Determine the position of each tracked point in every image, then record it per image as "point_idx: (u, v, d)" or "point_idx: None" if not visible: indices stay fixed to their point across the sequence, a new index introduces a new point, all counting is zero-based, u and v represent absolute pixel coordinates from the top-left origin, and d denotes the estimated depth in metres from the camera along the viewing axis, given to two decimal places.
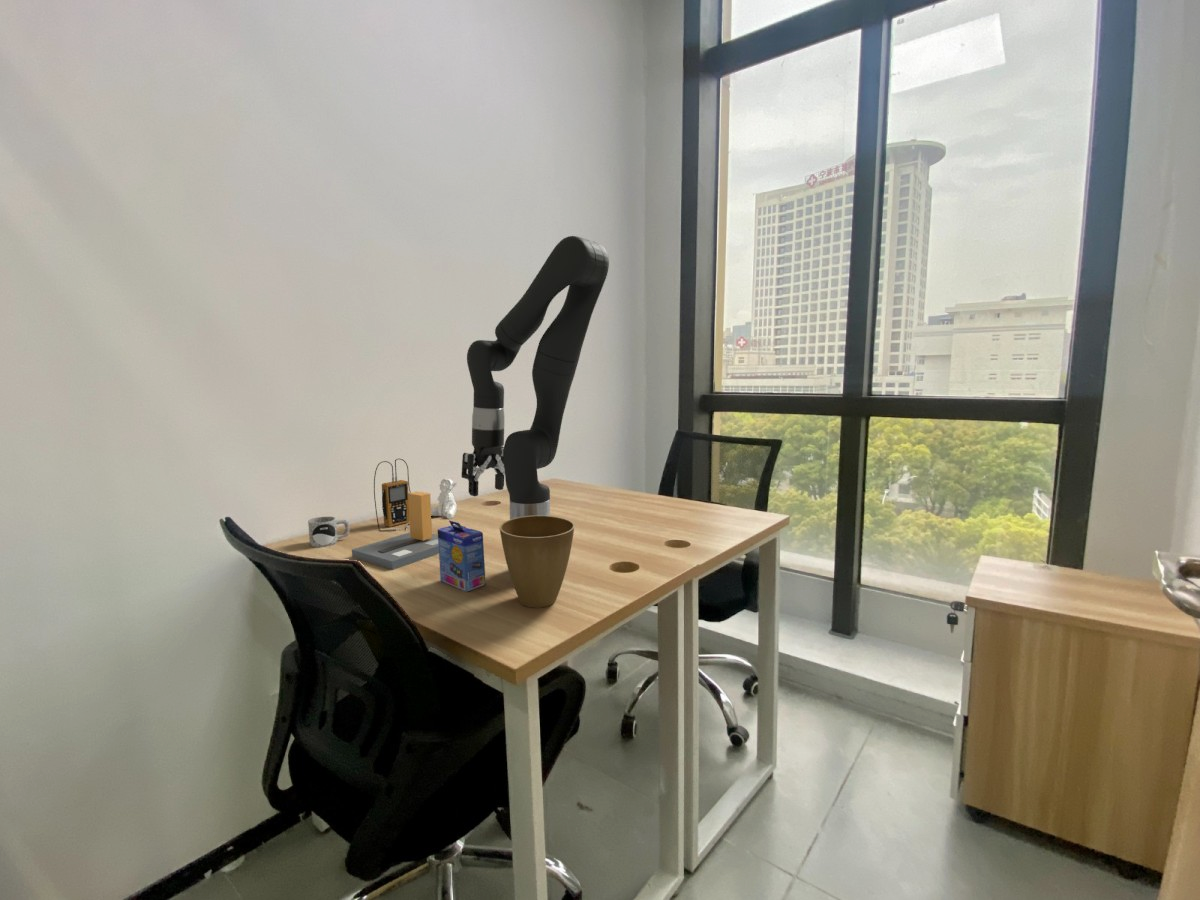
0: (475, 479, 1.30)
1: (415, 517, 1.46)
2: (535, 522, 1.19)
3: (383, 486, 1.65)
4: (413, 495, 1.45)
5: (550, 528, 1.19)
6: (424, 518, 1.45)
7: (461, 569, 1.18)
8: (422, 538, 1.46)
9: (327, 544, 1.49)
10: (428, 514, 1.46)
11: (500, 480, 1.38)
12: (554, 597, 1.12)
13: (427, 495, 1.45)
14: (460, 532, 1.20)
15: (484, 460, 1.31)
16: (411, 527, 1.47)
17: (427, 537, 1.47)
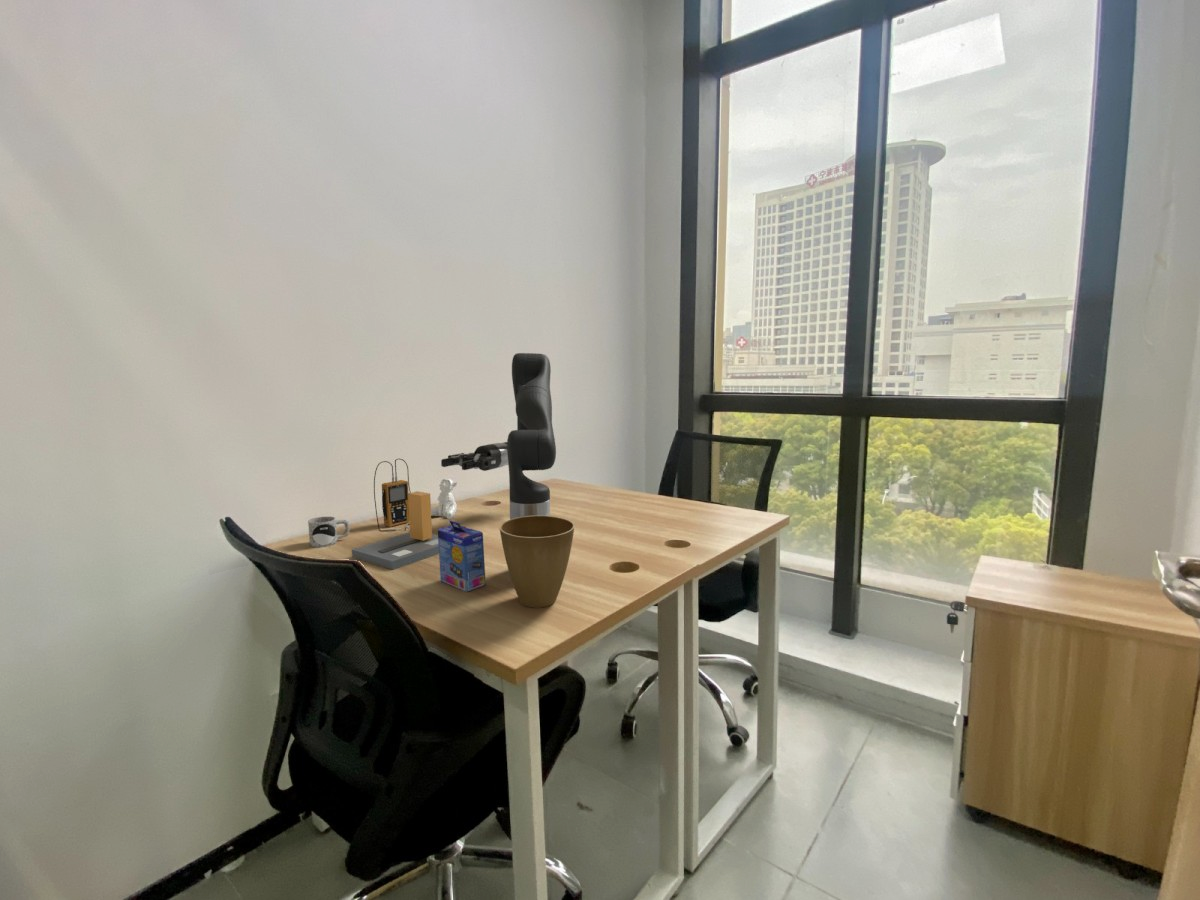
0: (451, 456, 1.61)
1: (415, 517, 1.46)
2: (535, 522, 1.19)
3: (383, 486, 1.65)
4: (413, 495, 1.45)
5: (550, 528, 1.19)
6: (424, 518, 1.45)
7: (461, 569, 1.18)
8: (422, 538, 1.46)
9: (327, 544, 1.49)
10: (428, 514, 1.46)
11: None
12: (554, 597, 1.12)
13: (427, 495, 1.45)
14: (460, 532, 1.20)
15: None
16: (411, 527, 1.47)
17: (427, 537, 1.47)
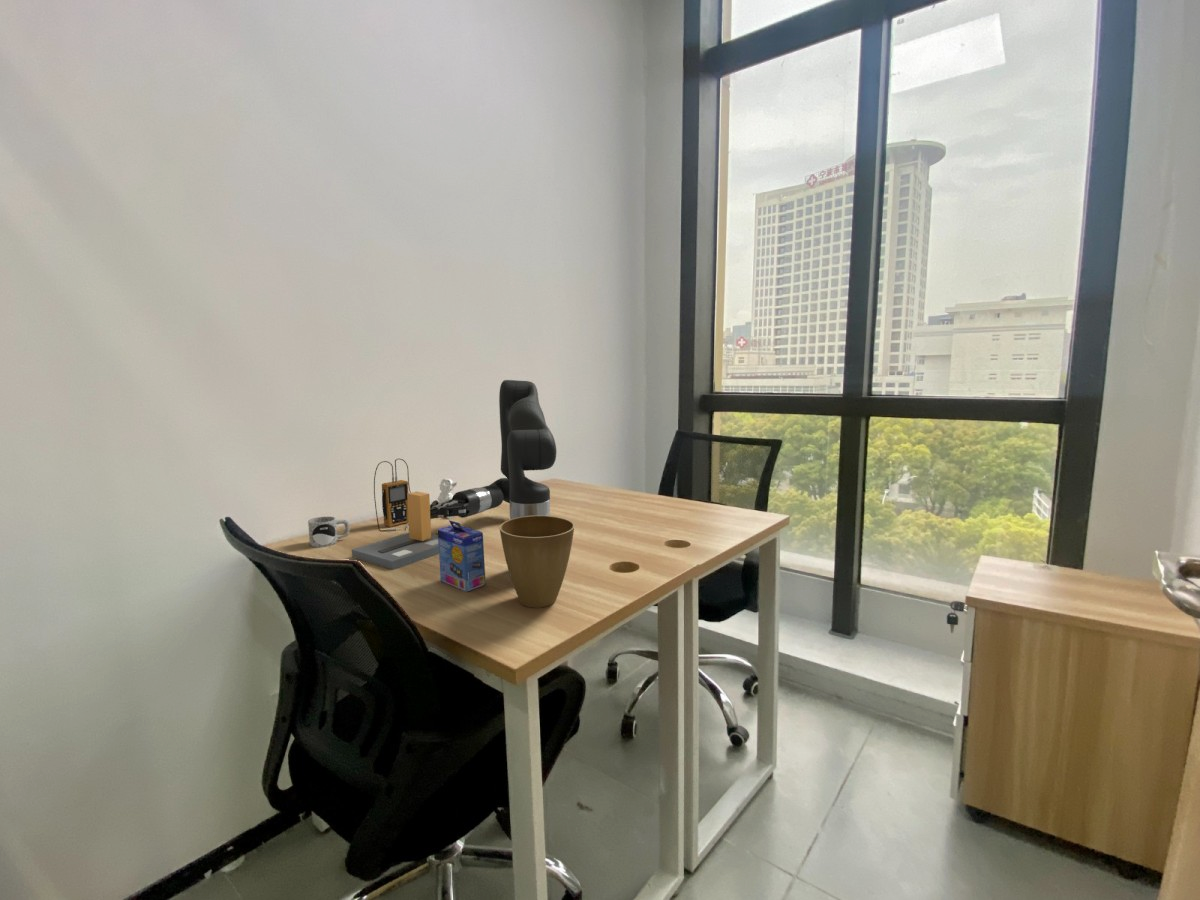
0: (433, 506, 1.52)
1: (414, 517, 1.46)
2: (535, 522, 1.19)
3: (383, 486, 1.65)
4: (412, 495, 1.45)
5: (550, 528, 1.19)
6: (423, 518, 1.45)
7: (461, 569, 1.18)
8: (421, 538, 1.45)
9: (327, 544, 1.49)
10: (427, 514, 1.46)
11: None
12: (554, 597, 1.12)
13: (426, 495, 1.45)
14: (460, 532, 1.20)
15: None
16: (410, 527, 1.47)
17: (426, 537, 1.46)
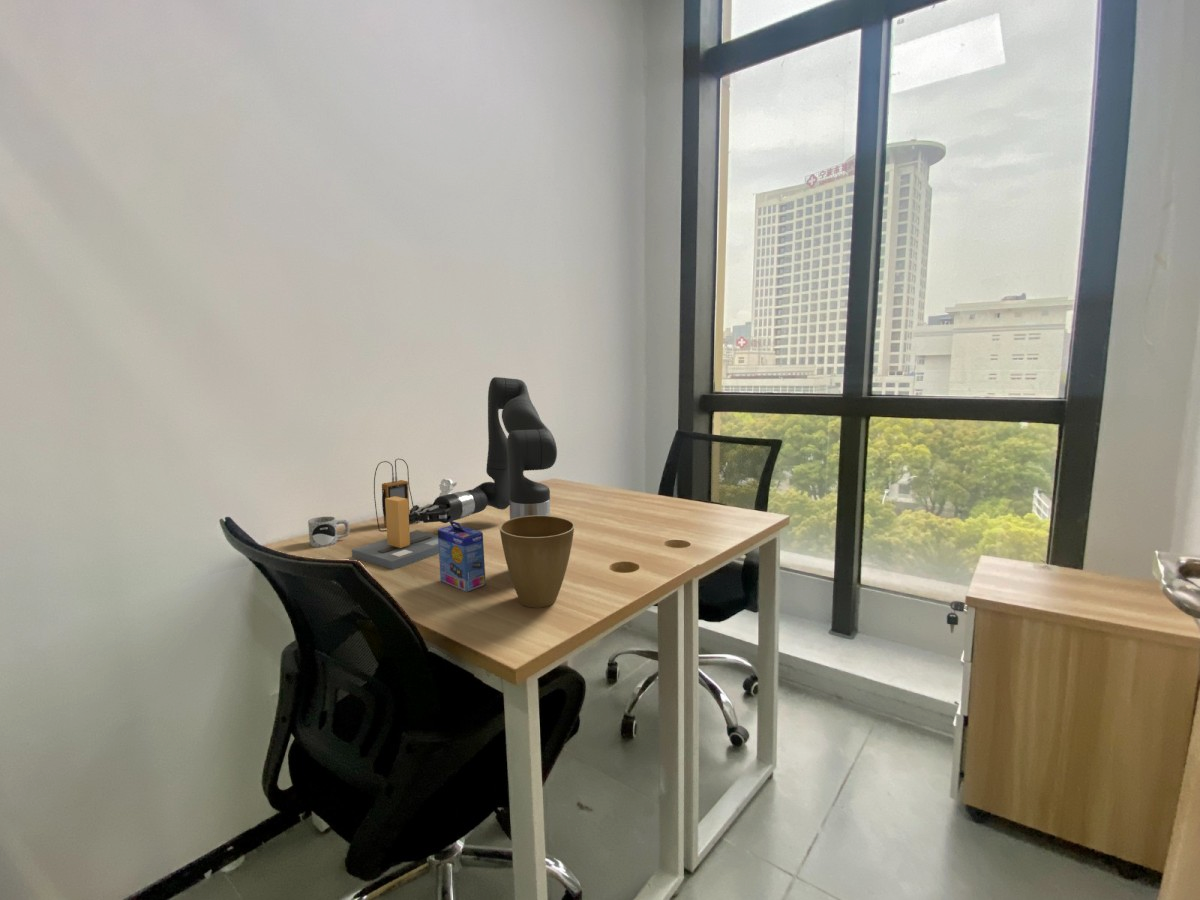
0: (413, 511, 1.46)
1: (392, 523, 1.40)
2: (535, 522, 1.19)
3: (383, 486, 1.65)
4: (390, 500, 1.39)
5: (550, 528, 1.19)
6: (401, 524, 1.39)
7: (461, 569, 1.18)
8: (399, 545, 1.40)
9: (327, 544, 1.49)
10: (406, 520, 1.40)
11: None
12: (554, 597, 1.12)
13: (404, 500, 1.40)
14: (460, 532, 1.20)
15: None
16: (388, 534, 1.42)
17: (405, 544, 1.41)
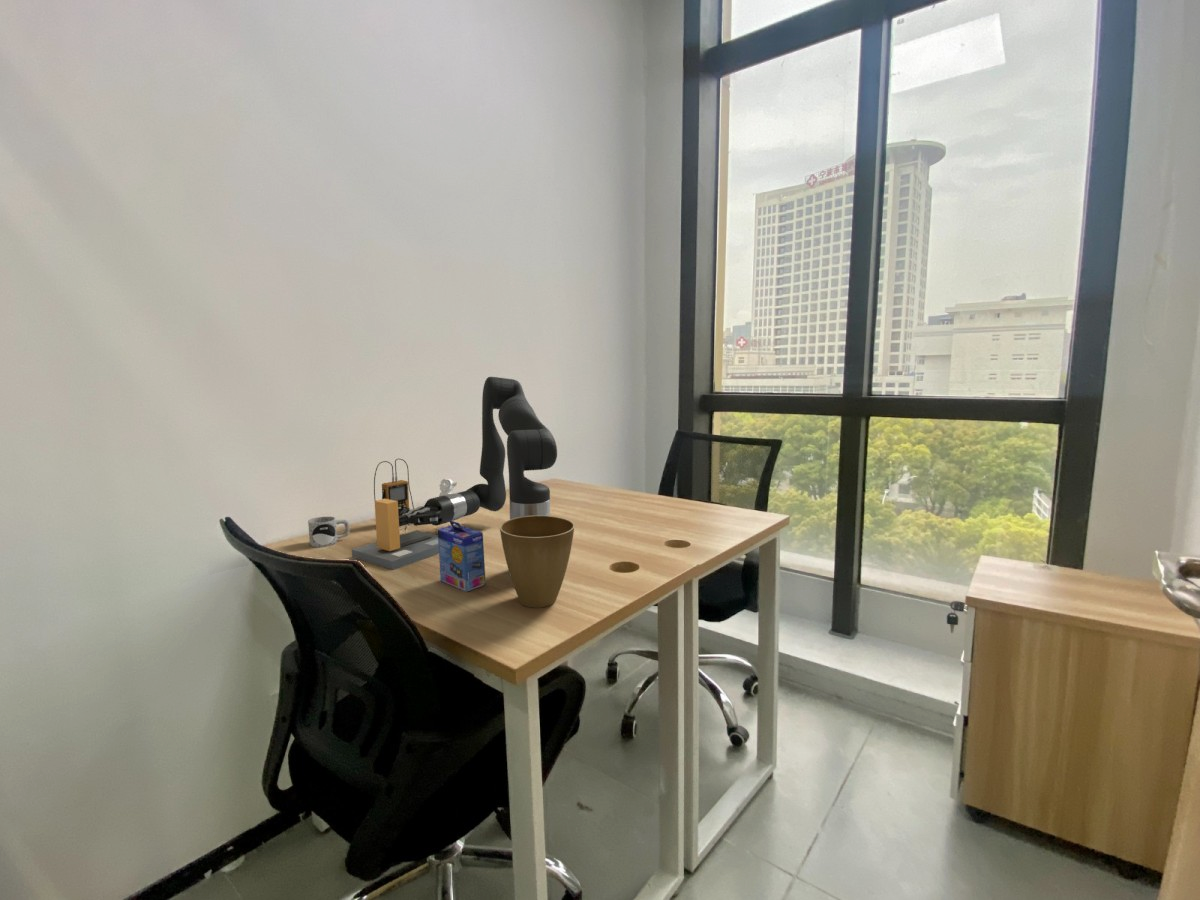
0: (403, 514, 1.44)
1: (382, 526, 1.38)
2: (536, 522, 1.19)
3: (383, 486, 1.65)
4: (379, 503, 1.37)
5: (550, 528, 1.19)
6: (391, 527, 1.37)
7: (461, 569, 1.18)
8: (389, 548, 1.37)
9: (327, 544, 1.49)
10: (395, 523, 1.38)
11: None
12: (554, 597, 1.12)
13: (394, 503, 1.37)
14: (460, 532, 1.20)
15: None
16: (378, 537, 1.39)
17: (394, 547, 1.38)
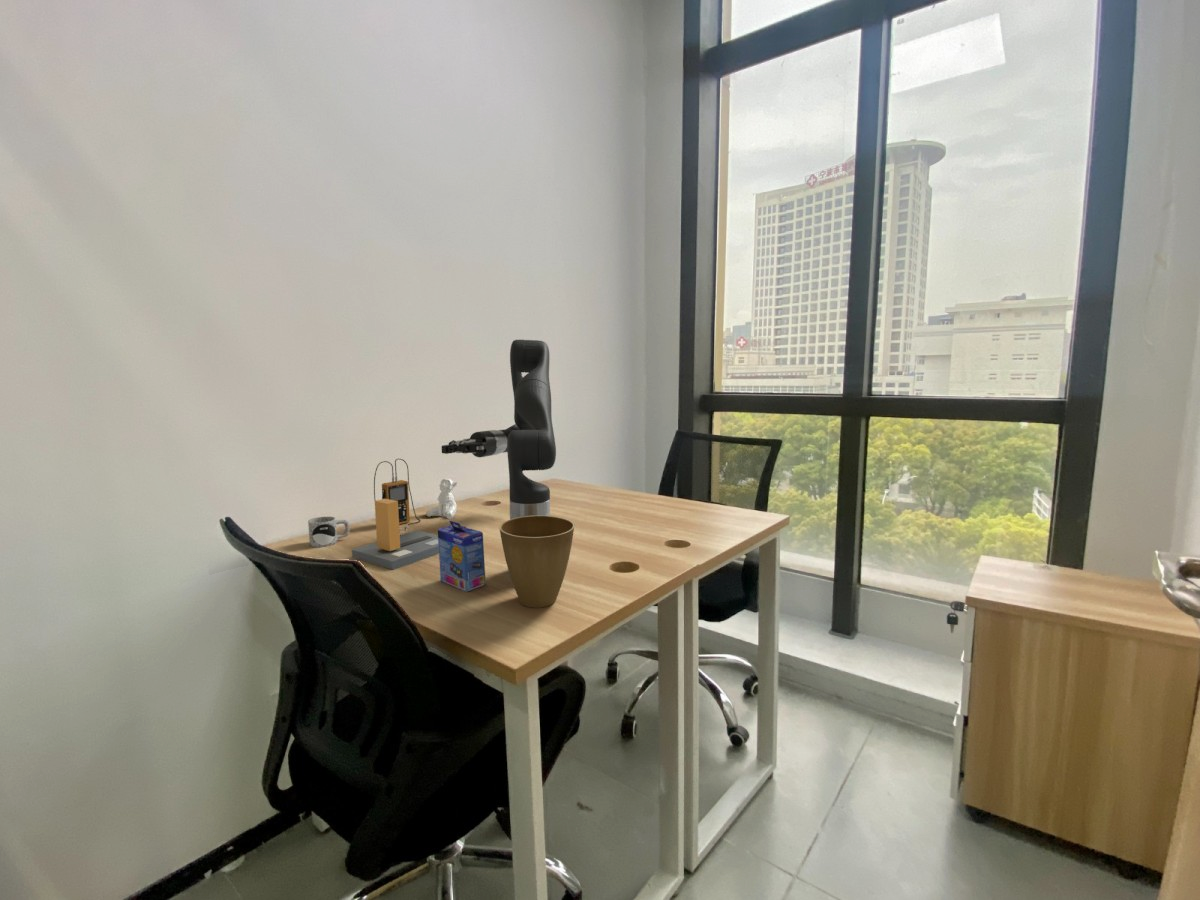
0: (452, 443, 1.56)
1: (382, 526, 1.38)
2: (535, 522, 1.19)
3: (383, 486, 1.65)
4: (379, 503, 1.37)
5: (550, 528, 1.19)
6: (391, 527, 1.37)
7: (461, 569, 1.18)
8: (389, 548, 1.37)
9: (327, 544, 1.49)
10: (396, 523, 1.38)
11: None
12: (554, 597, 1.12)
13: (394, 503, 1.37)
14: (460, 532, 1.20)
15: None
16: (378, 537, 1.39)
17: (395, 547, 1.38)
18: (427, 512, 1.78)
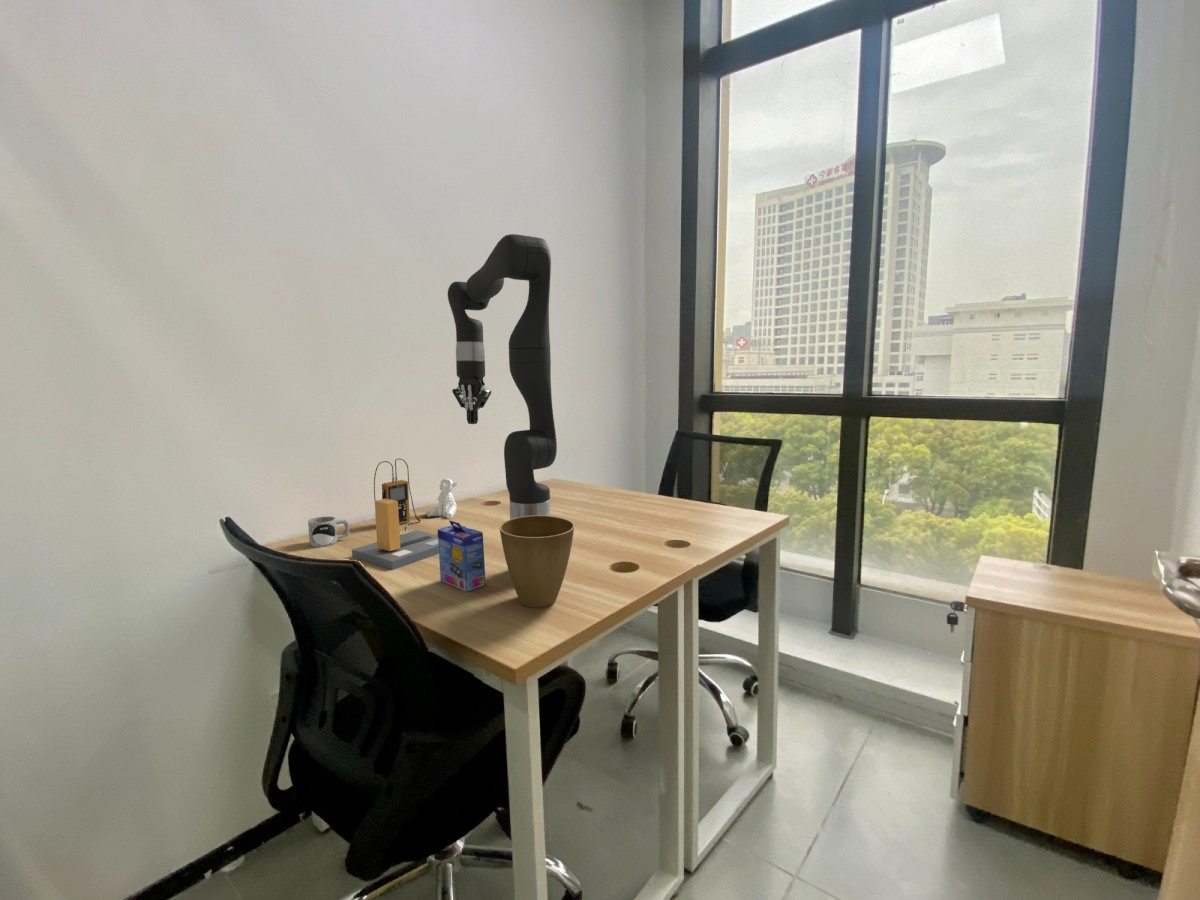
0: (465, 408, 1.51)
1: (382, 526, 1.38)
2: (535, 522, 1.19)
3: (383, 486, 1.65)
4: (379, 503, 1.37)
5: (550, 528, 1.19)
6: (391, 527, 1.37)
7: (461, 569, 1.18)
8: (389, 548, 1.37)
9: (327, 544, 1.49)
10: (396, 523, 1.38)
11: None
12: (554, 597, 1.12)
13: (394, 503, 1.37)
14: (460, 532, 1.20)
15: None
16: (378, 537, 1.39)
17: (395, 547, 1.38)
18: (427, 512, 1.78)
